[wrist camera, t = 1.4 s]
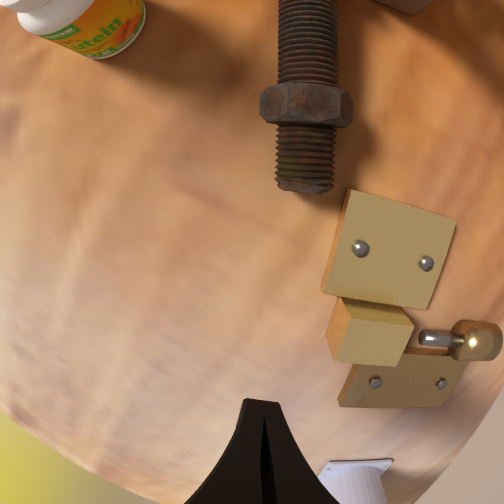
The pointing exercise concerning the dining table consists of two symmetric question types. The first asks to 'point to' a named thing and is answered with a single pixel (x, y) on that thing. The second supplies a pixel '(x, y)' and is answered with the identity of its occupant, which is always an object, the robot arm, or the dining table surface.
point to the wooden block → (407, 5)
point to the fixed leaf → (422, 369)
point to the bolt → (306, 96)
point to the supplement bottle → (83, 23)
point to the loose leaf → (381, 275)
